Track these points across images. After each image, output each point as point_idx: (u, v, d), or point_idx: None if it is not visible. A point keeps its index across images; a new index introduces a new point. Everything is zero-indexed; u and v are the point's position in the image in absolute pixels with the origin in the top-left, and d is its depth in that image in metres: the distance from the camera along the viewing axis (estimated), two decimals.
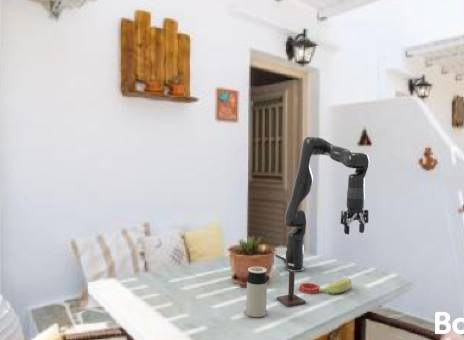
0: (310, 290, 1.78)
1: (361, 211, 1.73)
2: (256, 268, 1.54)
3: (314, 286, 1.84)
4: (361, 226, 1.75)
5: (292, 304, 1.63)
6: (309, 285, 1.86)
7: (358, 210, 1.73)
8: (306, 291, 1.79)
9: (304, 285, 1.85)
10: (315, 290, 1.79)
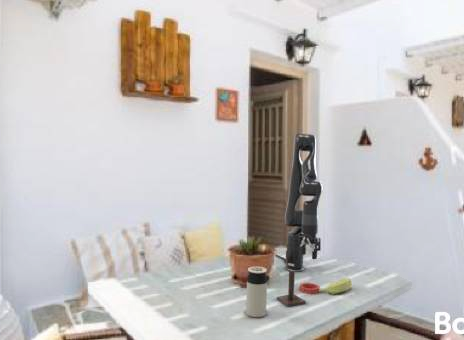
0: (310, 290, 1.78)
1: (311, 237, 1.81)
2: (256, 268, 1.54)
3: (314, 286, 1.84)
4: None
5: (292, 304, 1.63)
6: (309, 285, 1.86)
7: (308, 235, 1.83)
8: (306, 291, 1.79)
9: (304, 285, 1.85)
10: (315, 290, 1.79)
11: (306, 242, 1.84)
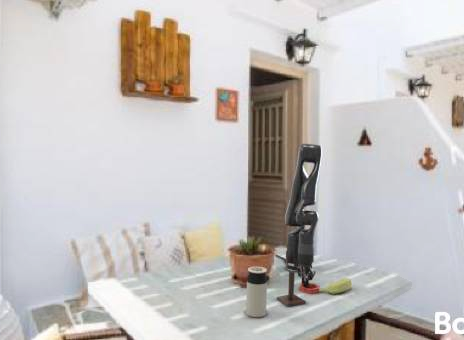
0: (310, 290, 1.78)
1: (307, 266, 1.82)
2: (256, 268, 1.54)
3: (314, 286, 1.84)
4: None
5: (292, 304, 1.63)
6: (309, 285, 1.86)
7: (304, 264, 1.84)
8: (306, 291, 1.79)
9: None
10: (315, 290, 1.79)
11: (302, 271, 1.86)
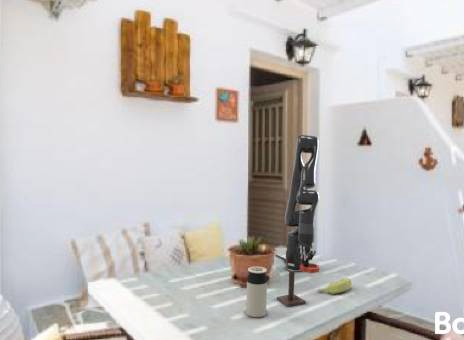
0: (310, 269, 1.78)
1: (307, 246, 1.82)
2: (256, 268, 1.54)
3: (314, 266, 1.84)
4: None
5: (292, 304, 1.63)
6: (309, 265, 1.85)
7: (305, 244, 1.84)
8: (306, 270, 1.78)
9: None
10: (315, 269, 1.78)
11: (302, 250, 1.85)
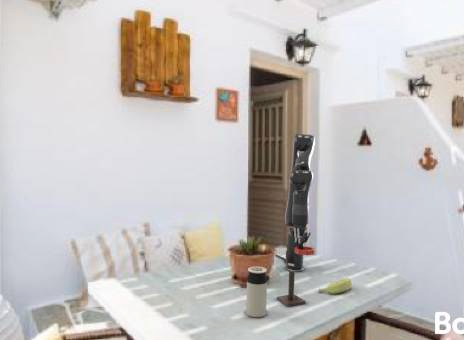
0: (305, 251, 1.70)
1: (301, 228, 1.75)
2: (256, 268, 1.54)
3: (309, 249, 1.77)
4: None
5: (292, 304, 1.63)
6: (304, 248, 1.78)
7: (299, 226, 1.76)
8: (301, 253, 1.71)
9: None
10: (311, 251, 1.71)
11: (297, 233, 1.78)
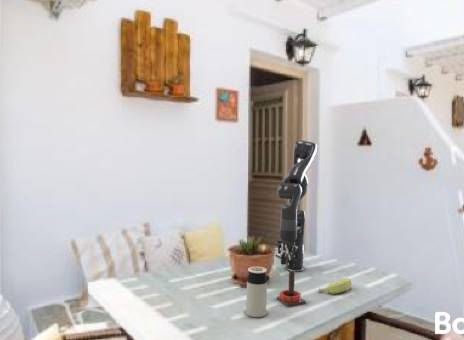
0: (290, 298, 1.64)
1: (289, 244, 1.67)
2: (256, 268, 1.54)
3: (295, 293, 1.71)
4: None
5: (292, 304, 1.63)
6: None
7: (287, 242, 1.69)
8: (286, 299, 1.65)
9: (284, 292, 1.71)
10: (296, 298, 1.65)
11: (284, 249, 1.70)
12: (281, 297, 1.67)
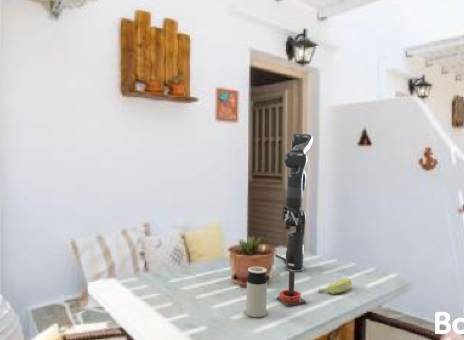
0: (290, 298, 1.64)
1: (294, 211, 1.74)
2: (256, 268, 1.54)
3: (295, 293, 1.71)
4: None
5: (292, 304, 1.63)
6: None
7: (292, 209, 1.76)
8: (286, 299, 1.65)
9: (284, 292, 1.71)
10: (296, 298, 1.65)
11: (290, 216, 1.77)
12: (281, 297, 1.67)
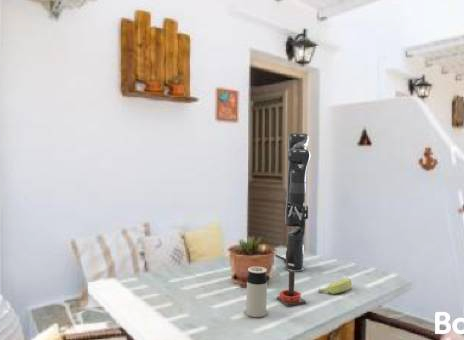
0: (290, 298, 1.64)
1: (298, 206, 1.78)
2: (256, 268, 1.54)
3: (295, 293, 1.71)
4: None
5: (292, 304, 1.63)
6: None
7: (296, 204, 1.80)
8: (286, 299, 1.65)
9: (284, 292, 1.71)
10: (296, 298, 1.65)
11: (294, 211, 1.82)
12: (281, 297, 1.67)
